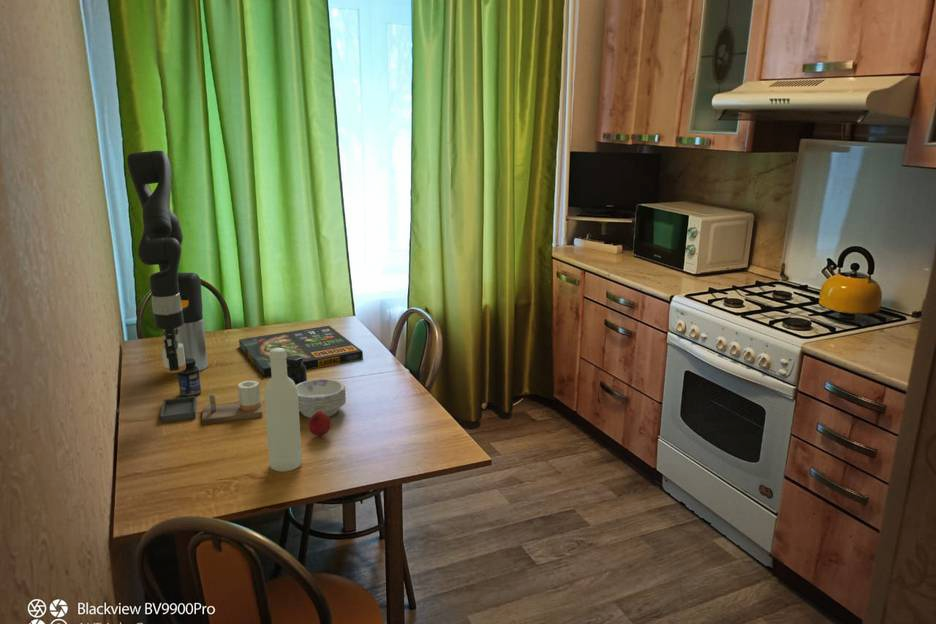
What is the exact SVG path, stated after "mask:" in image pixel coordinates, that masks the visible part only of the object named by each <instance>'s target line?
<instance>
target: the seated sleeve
mask: <svg viewBox="0 0 936 624" xmlns="http://www.w3.org/2000/svg"><path fill="white" fill-rule="evenodd" d="M237 391H238V392H237V393H238V394H237V395H238V401H239V405H240V409H242V410H244V411H250V410H255V409H258V408H259V407H260V406H261V407H262V403H261V392H260V383H259V381H257V380H245V381H242V382H240V383H238V384H237Z"/></svg>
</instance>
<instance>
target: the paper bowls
mask: <svg viewBox="0 0 936 624" xmlns="http://www.w3.org/2000/svg"><path fill="white" fill-rule="evenodd" d="M296 387H297V393H298V407H299V412H300V413H301V414H302V415H303V416H304V417H306V418H308V419H310V418H311V417H312V416H313V415H314V414H315V413H316V412H317V411H318V410H319V409H321V410H322V413H324V414H326V415H327V416H328V417H329V418H330V417H332V416H334V415H335V414H336V413H337V412H338V410H339V409H340V408H342V407H343V406H344V405H345V404H346V402H347V401H346V399H347V397H346V396H347V395H346V394H347V393H346V385H345V384H344V383H343V382H342V381H340V380H337V379H333V378H318V379H317V378H316V379H309V380H308V379H307V381H304V382H301V383H299V384H297V385H296Z"/></svg>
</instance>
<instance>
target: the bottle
mask: <svg viewBox="0 0 936 624" xmlns="http://www.w3.org/2000/svg"><path fill="white" fill-rule="evenodd" d="M286 356H287V354H286V350H285V349H283V348H274V349H272V350H270V356H269V358H270V362H271V374H272V376H271V378H270V379H269V380H268V381H267V382H266V384H265V387H264V391H263V398H264V400H263V402H264V409H265V412H264V413H265V424H266V435H267V447H268V462H269V467H270V469H271V470H273V471H275V472H281V473H282V472H291V471H293V470H296V469H297V468H299V467H300V466H301V465H302V464H303V450H302V441H301V425H300V411H299V407H298V393H297V387H296V385H295V383H294V381H293V380H292V379H290V378H289V377H288V376H287V363H286Z"/></svg>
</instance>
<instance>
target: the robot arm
mask: <svg viewBox="0 0 936 624" xmlns="http://www.w3.org/2000/svg"><path fill="white" fill-rule="evenodd" d="M126 158H127V159H126V163H127V168H128V172H129V176H130V178H131V181H132V183H133V186H134V189H135V192H136V194H137V197H138V199H139V202H140V205H141V208H142V221H143V222H142V223H143V225H142V226H143V230H142V235H141V239H140V242H139V244H138V250H137V251H138V252H137V256H138V258H139V260H140V261H141V262H142V263H143V264H144V265H147V266H155V265H158V268H159V271H158V272H155V273H152V274H151V275H150V277H149V285H150V292H151V307H152V315H153V316H152V317H153V321H154V327H155V328H156V329H158V330H164V331H163V332H162V340H163V345H165V350H166V355H167V356H166V357H167V359H169V367H170V370H171V371H174V370H178V368H179V367H178V360H177V356H178V354H177V349H178V343H181V344H183V348H184V356H185V359H188V358H192V359H195V362H196V364H195V366H196V367H198V369H199V372H200V371H203V370H205V369H206V368H207V367H208V366H209V365H208V352H207V345H206V335H205V327H204V318H203V299H202V297H203V295H202V283H201V278H200V276H199V274H198V273H196V272H179V265H180V261H181V255H182V244H183V240H184V239H183V238H184V237H183V232H182V227H181V225H180V221H179V218H178V217H177V215H176V214H175V213H174V212H173V211H172V210H171V205H170V204H171V193H172V191H171V190H172V166H171V163H170V159H169V157H168V154H167V153H166V152H165V151H163V150H151V151H150V150H149V151H141V152H139V151H138V152H131V153H129V154H128V155H127V157H126ZM151 184H157V185H156V187H155V188H154V191H151V189H150V188H149V186H148V185H151ZM182 301H188V303H187V306H184V307H183V305H182ZM175 345H176V346H175ZM169 351H174V353H173V354H169Z"/></svg>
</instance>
